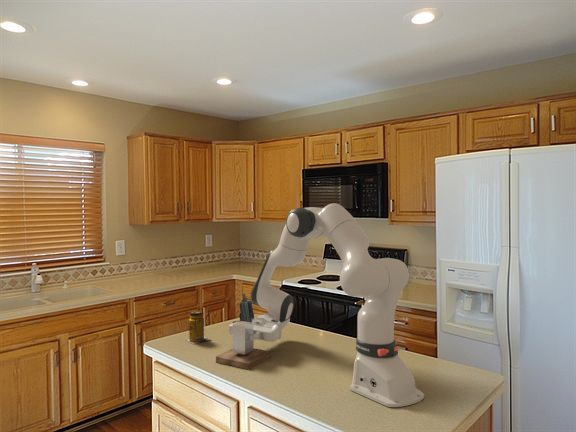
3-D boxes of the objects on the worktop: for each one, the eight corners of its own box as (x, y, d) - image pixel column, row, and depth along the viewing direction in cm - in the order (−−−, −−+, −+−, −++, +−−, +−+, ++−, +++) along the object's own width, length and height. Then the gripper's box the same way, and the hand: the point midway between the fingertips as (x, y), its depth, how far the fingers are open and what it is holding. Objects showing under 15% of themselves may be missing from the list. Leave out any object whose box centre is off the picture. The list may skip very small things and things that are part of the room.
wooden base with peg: (269, 356, 154) (269, 337, 154) (248, 369, 142) (248, 349, 142) (239, 350, 161) (238, 332, 161) (215, 362, 148) (215, 342, 148)
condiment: (185, 340, 174) (185, 311, 174) (204, 336, 179) (204, 308, 179) (192, 344, 168) (192, 315, 168) (211, 340, 174) (211, 312, 173)
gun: (232, 296, 196) (251, 292, 186) (238, 332, 193) (257, 330, 183) (227, 296, 195) (246, 293, 184) (233, 333, 192) (252, 331, 181)
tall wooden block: (253, 350, 152) (253, 323, 152) (244, 354, 148) (244, 326, 147) (241, 347, 155) (241, 321, 155) (232, 352, 150) (232, 324, 150)
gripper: (240, 315, 167) (218, 324, 155) (284, 322, 157) (265, 332, 145) (240, 331, 168) (219, 340, 156) (284, 339, 158) (265, 349, 146)
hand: (241, 336), depth 150 cm, fingers closed on tall wooden block, 5 cm apart
